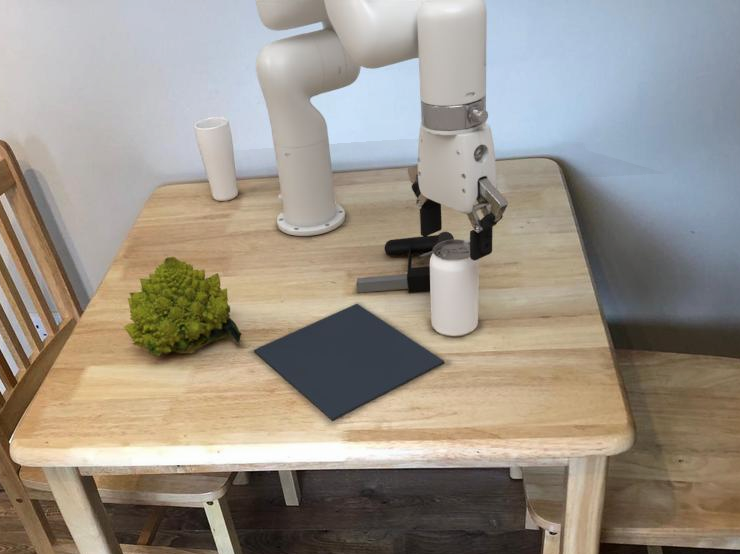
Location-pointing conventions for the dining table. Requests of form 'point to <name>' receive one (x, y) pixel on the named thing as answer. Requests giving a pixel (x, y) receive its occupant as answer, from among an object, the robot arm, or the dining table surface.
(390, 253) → the door handle
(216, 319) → the vegetable
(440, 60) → the robot arm
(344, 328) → the mat
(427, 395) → the dining table surface
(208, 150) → the drinking glass
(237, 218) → the dining table surface
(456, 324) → the can
